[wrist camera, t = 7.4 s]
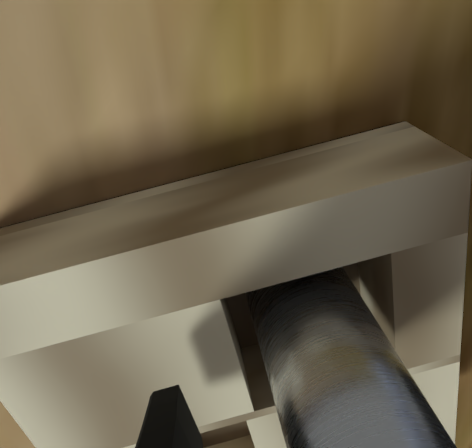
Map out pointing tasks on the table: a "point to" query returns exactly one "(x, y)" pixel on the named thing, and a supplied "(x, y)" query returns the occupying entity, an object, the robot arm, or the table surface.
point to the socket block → (229, 287)
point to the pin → (337, 369)
